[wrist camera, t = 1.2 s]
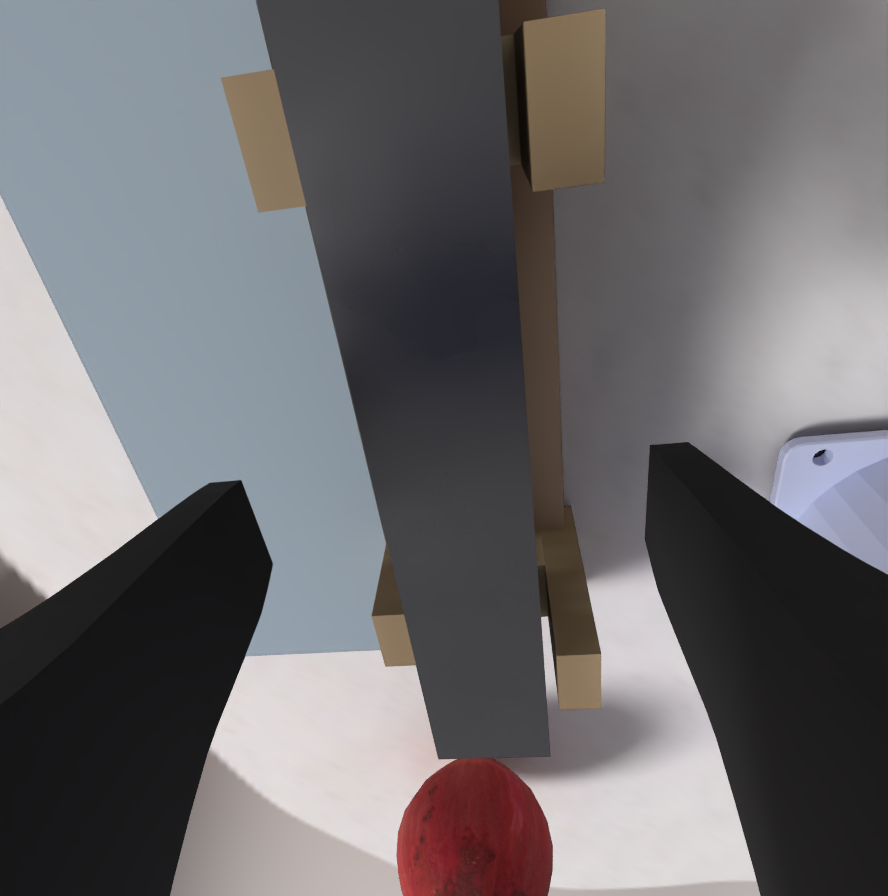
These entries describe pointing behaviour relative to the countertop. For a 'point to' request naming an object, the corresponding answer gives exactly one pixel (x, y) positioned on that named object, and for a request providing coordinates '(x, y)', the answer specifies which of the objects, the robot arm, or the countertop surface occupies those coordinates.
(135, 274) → the mat
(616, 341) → the countertop surface
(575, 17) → the rack
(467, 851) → the onion
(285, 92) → the rail
